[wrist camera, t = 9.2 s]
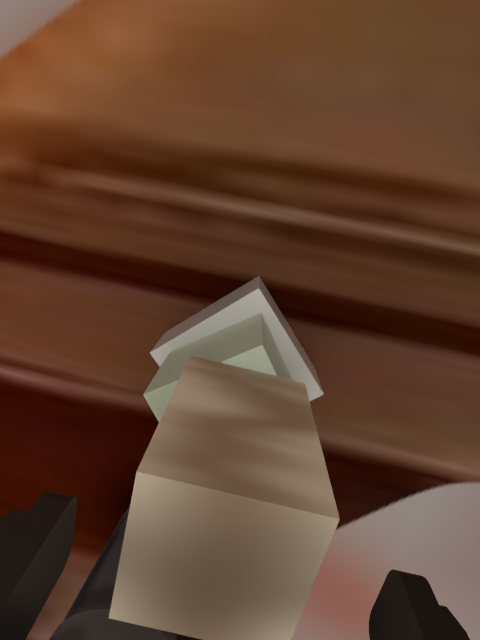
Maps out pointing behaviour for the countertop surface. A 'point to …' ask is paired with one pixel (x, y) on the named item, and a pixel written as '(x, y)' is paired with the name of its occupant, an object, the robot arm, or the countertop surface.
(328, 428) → the countertop surface
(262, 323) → the sage cube
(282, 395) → the birch block
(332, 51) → the countertop surface
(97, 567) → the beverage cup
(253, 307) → the slab
